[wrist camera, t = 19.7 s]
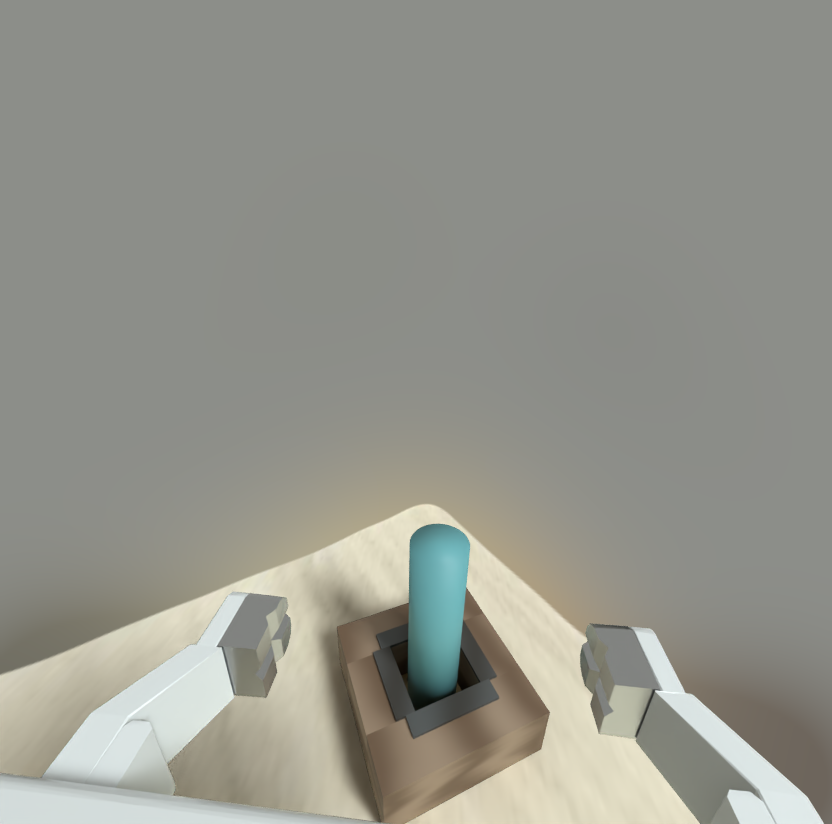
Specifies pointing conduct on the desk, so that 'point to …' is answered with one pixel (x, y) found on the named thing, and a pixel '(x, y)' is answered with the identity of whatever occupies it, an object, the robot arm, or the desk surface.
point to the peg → (435, 611)
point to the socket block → (436, 713)
